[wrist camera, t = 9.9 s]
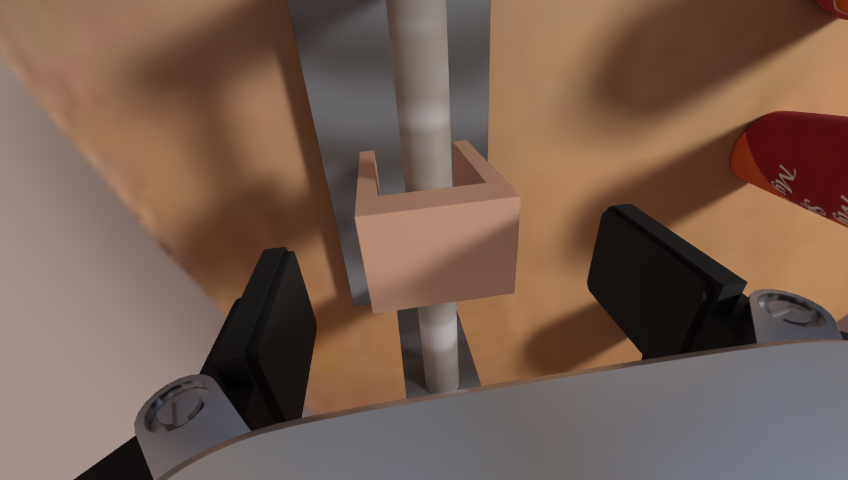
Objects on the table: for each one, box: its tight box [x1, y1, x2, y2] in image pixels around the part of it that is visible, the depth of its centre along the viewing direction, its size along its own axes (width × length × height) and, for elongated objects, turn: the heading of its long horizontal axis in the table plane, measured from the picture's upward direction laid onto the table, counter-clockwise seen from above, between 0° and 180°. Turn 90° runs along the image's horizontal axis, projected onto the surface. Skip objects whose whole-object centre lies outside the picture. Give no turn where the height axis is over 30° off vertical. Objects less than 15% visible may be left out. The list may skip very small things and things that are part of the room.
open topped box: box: [355, 140, 521, 314], centre depth 16 cm, size 4×5×8 cm
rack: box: [287, 0, 491, 398], centre depth 19 cm, size 24×11×14 cm, turn 4°
